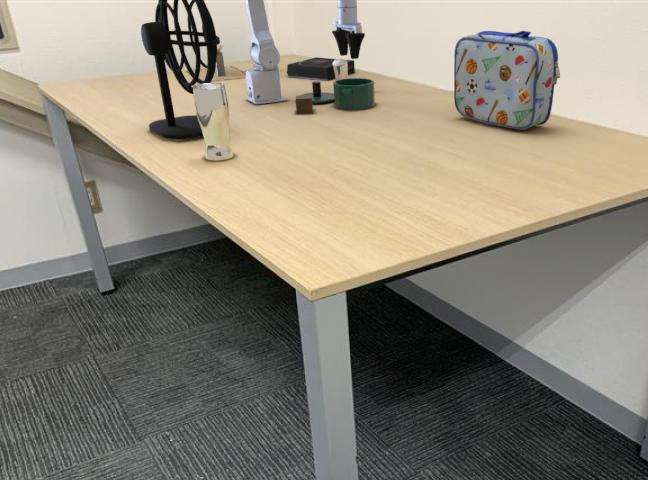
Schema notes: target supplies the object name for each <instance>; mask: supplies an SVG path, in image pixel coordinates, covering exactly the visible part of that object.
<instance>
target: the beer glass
mask: <svg viewBox="0 0 648 480" xmlns="http://www.w3.org/2000/svg"><path fill="white" fill-rule="evenodd" d="M192 87H193V93H194V94H193V102H194V110H195V115H196V116H197V118H198V122H199V125H200V128H201V131H202V134H203V140H204V158H205V160H207V161H211V162H220V161H226V160H229V159H232V158H234V152H233V150H232V147H231V142H230V135H229V134H230V106H229V100H228V95H227V91H226V85H225V83H221V82H211V83H204V84H199V83H197V84H195V85H193V86H192Z"/></svg>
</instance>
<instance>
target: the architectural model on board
mask: <svg viewBox="0 0 648 480" xmlns="http://www.w3.org/2000/svg"><path fill="white" fill-rule="evenodd" d="M223 47H224V46H223V45H222V44H219V45H218V48H217V58H216V69H215V73H214V76H213V79H212V81H211V82H216V81H226V80H235V79H246V73H244V72H242V71H240V70H238V69H236V68H234V67H232V66H225V62H224V61H225V60H224V54H223V52H222V51H221V50H222V49H223ZM192 70H193V72H194V73H195V69H192ZM206 73H207V68H203V69H200V74H199V79H201V80H202V81H204V80H205V77H206Z"/></svg>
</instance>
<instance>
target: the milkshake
mask: <svg viewBox="0 0 648 480" xmlns="http://www.w3.org/2000/svg"><path fill="white" fill-rule="evenodd" d="M335 59H336V60H334V62H333V69H334V73H335V81H337V80H340V79H348V78H349V74H348V67H347V62H348V61H346V60H347V59H344V58H335Z"/></svg>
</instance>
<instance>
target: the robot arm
mask: <svg viewBox="0 0 648 480" xmlns="http://www.w3.org/2000/svg"><path fill="white" fill-rule="evenodd" d="M244 5H245V9H246V14H247V20H248V24H249V28H250V38H249V41H250V48H249V55H250V59H251V60H252V62H253V63H254V64H253V66H252V68H253V69H250V70H246V72H245V74H246V78H245V83H246V91H247V101H249V102H251V103H253V104H254V105H263V104H271V103H279V102H286V101H287V98H285V97H283V96H282V90H281V89H282V87H281V80H280V77H281V76H280V68H279V63H280V60H281V54H280V51H279V50H278V48H277V47H276V45H275V42H274V38H273V36H272V33H271V31H270V28H269V22H268V17H267V12H266V6H265V1H264V0H244ZM336 6H337V7H336V8H337V9H336V10H337V21H334V29H335V30H332V31H331V33H332V35H333V37H334V39H335V42H336V44H337V49H338V52H339V55H340V56H341V57H343V56H348V54H349V57H350V60H357V59H359V57H360V52H361V46H362V43H363V40H364V39H365V36H366V33H365V32H363V26H362V22H360V21H359V22H358V0H336Z"/></svg>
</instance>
